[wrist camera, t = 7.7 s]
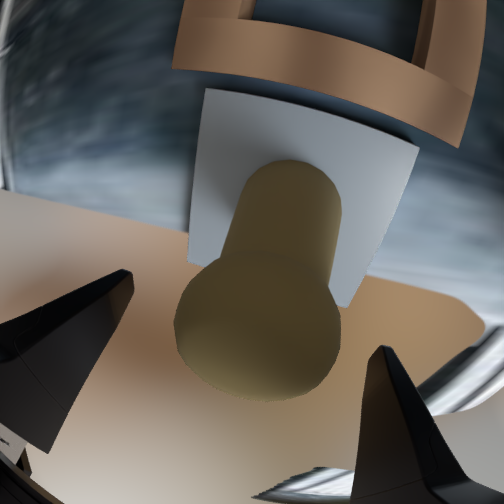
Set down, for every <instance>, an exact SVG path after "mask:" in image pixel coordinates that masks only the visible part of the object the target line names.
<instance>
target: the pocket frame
mask: <svg viewBox="0 0 504 504" xmlns="http://www.w3.org/2000/svg"><path fill="white" fill-rule="evenodd" d="M255 4H256V0H185V2H184V6H183V10H182V15H181V19H180V24H179V28H178V33H177V39H176V44H175V49H174V55H173V61H172V67H171V69H182V70H195V71H207V72H217V73H225V74H233V75H240V76H246V77H253V78H258V79H264V80H269V81H274V82H279V83H284V84H288V85H293V86H297V87H301V88H305V89H309V90H313V91H317V92H320V93H324V94H327V95H331V96H334V97H337V98H341V99H344V100H347V101H350V102H353V103H356V104H359V105H362V106H365V107H367V108H370V109H373V110H376V111H378V112H381V113H383V114H386V115H388V116H391V117H393V118H396V119H398V120H400V121H403V122H405V123H407V124H410V125H412V126H414V127H416V128H418V129H421V130H423V131H425V132H427V133H429V134H431V135H433V136H435V137H437V138H439V139H441V140H443V141H445V142H447V143H449V144H451V145H453V146H454V147H456V148H458V147H459V144H460V141H461V138H462V135H463V132H464V129H465V125H466V122H467V119H468V115H469V111H470V108H471V104H472V100H473V96H474V92H475V87H476V83H477V78H478V73H479V68H480V62H481V56H482V49H483V42H484V33H485V22H486V4H487V0H423V2H422V9H421V16H420V22H419V27H418V33H417V38H416V43H415V48H414V53H413V58H412V62H411V63H408V62H406V61H404V60H402V59H399V58H397V57H395V56H392V55H390V54H387V53H385V52H382V51H379V50H377V49H374V48H371V47H368V46H365V45H362V44H359V43H356V42H353V41H350V40H347V39H343V38H340V37H336V36H333V35H329V34H325V33H321V32H317V31H313V30H308V29H304V28H299V27H294V26H288V25H282V24H276V23H269V22H262V21H253V20H252V17H253V12H254V8H255Z"/></svg>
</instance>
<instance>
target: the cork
mask: <svg viewBox="0 0 504 504" xmlns="http://www.w3.org/2000/svg"><path fill="white" fill-rule="evenodd" d="M341 217H342V206H341V198H340V195H339V193H338V191H337V188H336V186H335V184H334V183H333V182H332V181H331V179H330V178H329V177H328V176H327V175H326V174H325V173H324V172H323V171H321V170H320V169H318V168H316V167H314V166H313V165H311V164H309V163H306V162H301V161H296V160H291V159H290V160H281V161H273V162H271V163H269V164H267V165H265V166H263V167H261V168H259V169H258V170H257V171H255V172H254V173H253V174H252V175H251V176H250V177H249V178H248V179H247V182H246V184H245V186H244V188H243V190H242V192H241V195H240V198H239V201H238V204H237V206H236V209H235V212H234V215H233V218H232V221H231V224H230V227H229V230H228V233H227V236H226V239H225V242H224V245H223V249H222V252H221V255H220V258H218V259H216V260H214V261H213V262H211V263H210V264H209V265H208V266H206V267H205V268H204V269H203V270H202V271H201V272H200V273H198V274H197V275H196V276H195V277H194V278H193V279H192V280H191V281H190V282H189V284H188V285H187V287H186V289H185V290H184V292H183V293H182V296H181V299H180V301H179V304H178V307H177V310H176V314H175V318H174V330H175V336H176V343H177V349H178V352H179V354H180V356H181V357H182V359H183V360H184V362H185V364H186V365H187V366H188V367H189V368H190V369H191V370H192V371H193V372H194V373H195V374H197V375H198V376H199V377H200V378H201V379H202V380H203V381H205V382H206V383H208V384H209V385H211V386H213V387H214V388H216V389H218V390H220V391H223V392H225V393H228V394H230V395H232V396H236V397H240V398H244V399H248V400H255V401H266V402H267V401H280V400H286V399H291V398H294V397H297V396H300V395H304V394H306V393H308V392H309V391H311V390H312V389H314V388H315V387H317V386H318V385H319V384H320V383H321V381H322V380H323V379H324V378H325V377H326V376H327V375H328V373H329V371H330V370H331V368H332V366H333V365H334V363H335V361H336V358H337V356H338V353H339V350H340V338H341V337H340V336H341V321H340V313H339V310H338V308H337V305H336V302H335V300H334V298H333V296H332V294H331V292H330V289H329V287H328V285H329V281H330V276H331V271H332V266H333V261H334V256H335V251H336V246H337V240H338V235H339V229H340V223H341Z"/></svg>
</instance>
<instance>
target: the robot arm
mask: <svg viewBox="0 0 504 504" xmlns="http://www.w3.org/2000/svg"><path fill="white" fill-rule="evenodd" d="M133 294H134V281H133V274H132V272H130V271H128V270H125V269H120V270H118V271H115V272H113V273H111V274H109V275H106V276H104V277H102V278H100V279H98V280H95V281H93V282H91V283H89V284H87V285H85V286H83V287H80V288H78V289H76V290H74V291H72V292H70V293H67V294H65V295H63V296H61V297H59V298H57V299H55V300H53V301H51V302H49V303H47V304H45V305H43V306H40V307H38V308H36V309H34V310H32V311H30V312H28V313H26V314H24V315H21V316H19V317H17V318H14V319H12V320H9V321H7V322H4V323H1V324H0V504H64V503H63V502H61V501H60V500H58V499H57V498H55V497H54V496H53V495H51V494H50V493H49V492H47V491H46V490H45V489H43V488H42V487H41V486H40V485H38V484H37V483H36V482H35V481H33V480H32V479H31V478H30V476H31V474H32V471H31V468H30V464H29V461H28V457H27V453H26V449H25V446H26V444H27V442H29V443H30V444H32V445H33V446H35V447H36V448H38V449H40V450H42V451H43V452H45V453H47V454H48V453H49V451H50V450H51V448H52V446H53V443H54V441H55V439H56V437H57V435H58V433H59V431H60V429H61V427H62V425H63V423H64V421H65V419H66V417H67V415H68V412H69V411H70V409H71V407H72V405H73V403H74V401H75V399H76V397H77V396H78V394H79V392H80V390H81V388H82V386H83V385H84V383H85V381H86V379H87V377H88V376H89V374H90V372H91V370H92V369H93V367H94V365H95V363H96V362H97V360H98V358H99V357H100V355H101V353H102V351H103V350H104V348H105V347H106V345H107V343H108V341H109V340H110V338H111V337H112V335H113V333H114V332H115V330H116V328H117V326H118V324H119V323H120V320H121V318H122V316H123V314H124V312H125V310H126V308H127V306H128V304H129V302H130V300H131V298H132V296H133ZM349 504H504V493H501V492H499V491H496V490H493V489H491V488H489V487H486V486H484V485H482V484H479V483H476V482H475V481H473V480H471V479H470V478H469V477H468V476H466V474H465V473H464V471H463V469H462V468H461V466H460V465H459V463H458V461H457V460H456V458H455V456H454V455H453V453H452V452H451V450H450V448H449V447H448V445H447V443H446V442H445V440H444V438H443V436H442V434H441V433H440V431H439V429H438V427H437V425H436V423H434V419H433V418H432V416H431V414H430V412H429V410H428V408H427V407H426V405H425V403H424V401H423V399H422V398H421V396H420V394H419V392H418V391H417V389H416V387H415V385H414V384H413V382H412V380H411V378H410V377H409V375H408V374H407V372H406V370H405V368H404V367H403V365H402V364H401V362H400V360H399V358H398V357H397V355H396V353H395V352H394V350H393V349H392V348H391V347H390V346H386V345H380V346H379V347H378V348H377V350H376V351H375V352H374V353H373V354H372V356H371V357H370V358H369V361H368V365H367V372H366V379H365V385H364V392H363V398H362V409H361V423H360V434H359V443H358V452H357V460H356V467H355V474H354V480H353V486H352V492H351V497H350V502H349Z"/></svg>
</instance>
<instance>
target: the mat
mask: <svg viewBox="0 0 504 504" xmlns="http://www.w3.org/2000/svg"><path fill="white" fill-rule="evenodd" d="M419 149H420V148H419V147H418V146H416V145H415V144H412V143H410V142H408V141H406V140H403V139H401V138H399V137H396V136H394V135H391V134H389V133H386V132H384V131H381V130H379V129H376V128H373V127H371V126H368V125H365V124H362V123H359V122H356V121H354V120H351V119H348V118H344V117H341V116H338V115H335V114H332V113H328V112H325V111H322V110H318V109H314V108H311V107H307V106H303V105H299V104H295V103H291V102H287V101H283V100H278V99H274V98H269V97H264V96H259V95H254V94H248V93H242V92H236V91H230V90H223V89H215V88H206V90H205V96H204V102H203V109H202V115H201V122H200V130H199V137H198V145H197V153H196V162H195V171H194V180H193V190H192V201H191V212H190V225H189V239H188V240H189V241H188V256H187V262H190V263H193V264H196V265H199V266H202V267H206V266H208V265H209V264H210V263H211V262H213V261H214V260H216V259H218V258H220V255H221V252H222V249H223V245H224V242H225V239H226V236H227V233H228V230H229V227H230V224H231V221H232V218H233V215H234V212H235V209H236V206H237V204H238V201H239V198H240V195H241V192H242V190H243V188H244V186H245V184H246V182H247V179H248V178H249V177H250V176H251V175H252V174H253V173H254V172H255V171H257V170H258V169H259V168H261V167H263V166H265V165H267V164H269V163H271V162H273V161H281V160H290V159H291V160H296V161H301V162H306V163H309V164H311V165H313V166H314V167H316V168H318V169H320V170H321V171H323V172H324V173H325V174H326V175H327V176H328V177H329V178H330V179H331V181H332V182H333V183H334V184H335V186H336V188H337V191H338V193H339V195H340V198H341V206H342V217H341V223H340V229H339V235H338V240H337V246H336V251H335V256H334V261H333V266H332V271H331V276H330V281H329V285H328V287H329V289H330V292H331V294H332V296H333V298H334V300H335V302H336V305H337V306H341V307H345V308H347V307H348V305H349V303H350V301H351V300H352V298H353V296H354V294H355V293H356V291H357V289H358V287H359V285H360V283H361V281H362V280H363V277H364V276H365V274H366V272H367V270H368V268H369V266H370V264H371V262H372V260H373V258H374V256H375V254H376V252H377V250H378V248H379V246H380V244H381V242H382V240H383V237H384V235H385V233H386V231H387V229H388V227H389V224H390V222H391V220H392V218H393V215H394V213H395V211H396V208H397V206H398V204H399V201H400V199H401V197H402V194H403V192H404V189H405V187H406V184H407V182H408V179H409V176H410V174H411V171H412V168H413V166H414V163H415V160H416V157H417V155H418V152H419Z"/></svg>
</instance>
